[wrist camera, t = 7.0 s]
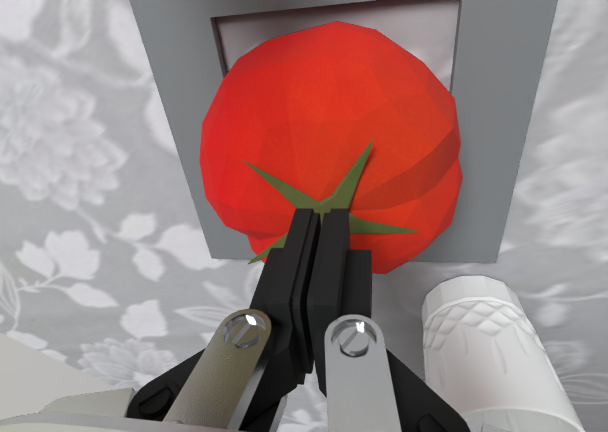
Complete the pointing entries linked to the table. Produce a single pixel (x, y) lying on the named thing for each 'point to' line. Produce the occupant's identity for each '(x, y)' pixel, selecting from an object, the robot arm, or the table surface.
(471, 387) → the white cup
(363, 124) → the tomato
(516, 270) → the table surface
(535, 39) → the gray picture frame
